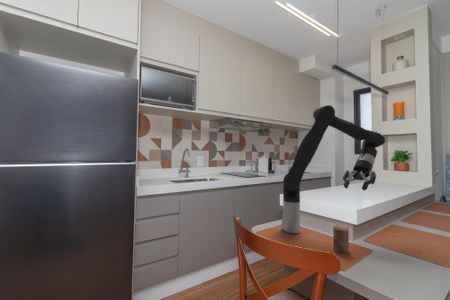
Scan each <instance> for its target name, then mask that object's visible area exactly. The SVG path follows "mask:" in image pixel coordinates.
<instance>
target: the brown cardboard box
mask: <svg viewBox="0 0 450 300" xmlns="http://www.w3.org/2000/svg"><path fill="white" fill-rule="evenodd" d="M332 231H333V250H334V251H336V252H338V253H340V254H343V255H346V254H347V253H349V252H350V251H349V247H350V246H349V244H350V243H349V235H350V234H349V227H348V226H343V225H340V224H335V225H333V230H332Z"/></svg>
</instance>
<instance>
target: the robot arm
mask: <svg viewBox="0 0 450 300" xmlns="http://www.w3.org/2000/svg"><path fill="white" fill-rule="evenodd" d="M312 116H313V119H314V122H313V124H312V127H311V128H310V129H309V131H308V132H307V134H305V136H304V137H303V139H302V140H301V142H300V143H299V144H300V145H299V146H298V148H297V151H296V153H295V156H294V160H293V161H292V162H293V163H292V165H291V167H290V169H289V170H288V172H287V174H286V175H284V177H283V180H282V181H283V184H282V185H283V188H282V189H283V193H282V194H283V195H282V197H283V199H282V200H283V203H282V205H283V207H282V208H283V210H282V211H283V212H282V213H281V230H282V231H284V232H285V233H289V234H298V233H299V234H300V233H301V194H300V193H301V192H300V188H301V186H300V185H301V182H302V179H303V176H304V174H305V171H306V169H308V167H309V165H310V163H311V161H312V159H313V158H314V156H315V154H316V152H317V150H318V148H319V146H320V144H321V142H322V140H323V138H324V136H325V133H326V132H327V129H328V128H329V127H331V128H334V129H335V130H337V131H340V132H341V133H344V134H345V135H347V136H348V137H351V138H352V139H355V140H357V141H362V143H361V151H360V154H359V155H358V157H357V159H356V162H355V163H354V166H353V169H352V171H349V170H347V169H346V171H345V173H344V174H343V176H342V181H343V182H344V183H343V187H344V188H345V189H346V190H347V189H348V188H349V186H350V183H351V182H355V181H363V180H364V182H363V183H362V186H361V189H362V191H365V192H366V191H367V190H368V188H369V185H375V183H376V178H377V174H376V172H375V171H372V168H373V166H374V163H375V160H376V157H377V155H378V150H377V148H378V147H381V146H383V145H384V144H385V142H386V138H385V136H384V135H382V134H381V133H379V132H377V131H373V130H370V129H365V127H364V128H363V127H362V126H360V125H358V124H356V123H353V122H351V121H348V120H345V119H343V118H340V117H339V116H337V115H336V111H335V107H334V106H332V105H328V104H325V105H321V106H319V107H317V108H315V110H314V111H313V114H312ZM368 177H369V179H368Z"/></svg>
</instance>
